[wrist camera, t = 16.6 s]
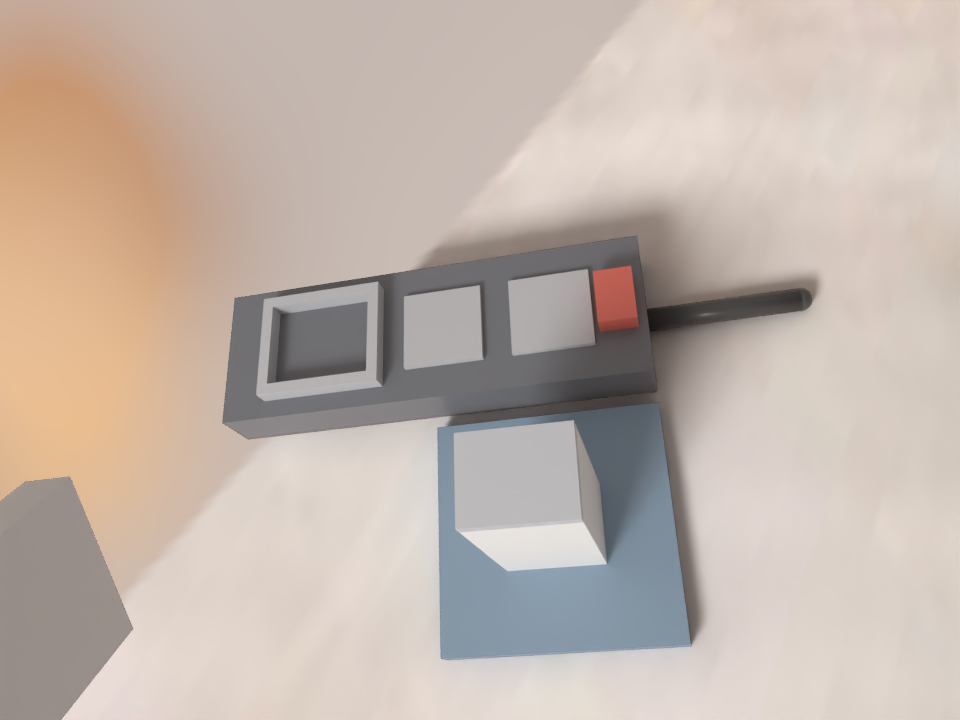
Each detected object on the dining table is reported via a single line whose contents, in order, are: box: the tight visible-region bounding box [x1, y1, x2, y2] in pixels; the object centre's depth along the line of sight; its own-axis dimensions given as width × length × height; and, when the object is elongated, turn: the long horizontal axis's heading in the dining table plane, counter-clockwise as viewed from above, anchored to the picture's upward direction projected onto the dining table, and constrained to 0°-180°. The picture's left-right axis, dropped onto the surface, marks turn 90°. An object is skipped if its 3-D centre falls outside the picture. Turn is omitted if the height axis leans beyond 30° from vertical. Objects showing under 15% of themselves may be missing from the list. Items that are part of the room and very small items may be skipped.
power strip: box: [223, 236, 812, 439], centre depth 46 cm, size 33×8×4 cm, turn 92°
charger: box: [454, 420, 607, 571], centre depth 37 cm, size 5×4×10 cm
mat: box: [437, 402, 691, 660], centre depth 42 cm, size 12×12×1 cm
